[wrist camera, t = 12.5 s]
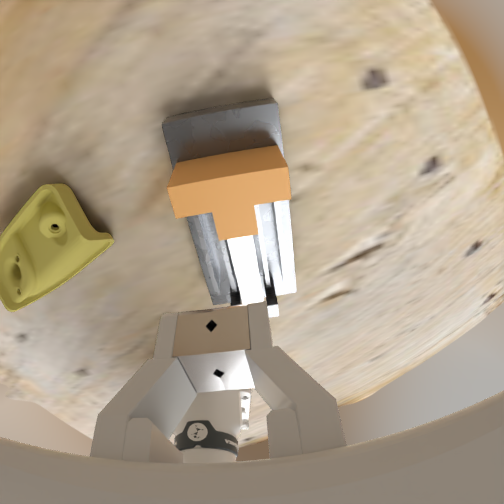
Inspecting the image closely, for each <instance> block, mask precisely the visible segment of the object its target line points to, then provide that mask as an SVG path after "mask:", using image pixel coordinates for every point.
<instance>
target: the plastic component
mask: <svg viewBox="0 0 504 504" xmlns="http://www.w3.org/2000/svg"><path fill="white" fill-rule="evenodd" d="M53 224H57V225H58V226H59V227H53V226H52V225H53ZM113 243H114V240H113V238H112V236H111V235H110V234H109V233H100V232H97V231H96V230H95V229H94V228H93V227H92V226H91V224H90V223H89V221H88V219H87V217H86V215H85V214H84V212H83V210H82V208H81V206H80V205H79V203H78V201H77V199H76V197H75V195H74V193H73V191H72V190H71V189H70V188H69V187H68V186H67V185H65V184H62V183H59V184H45V185H42V186H41V187H39V188H38V189H37V191H36V192H35V193H34V194H33V195H32V196H31V198H30V199H29V200H28V201H27V202H26V203H25V205H24V206H23V207H22V208H21V210H20V211H19V212H18V213H17V215H16V216H15V217H14V218H13V220H12V221H11V222H10V223H9V225H8V226H7V227H6V229H5V230H4V231H3V233H2V234H1V235H0V299H1V301H2V303H3V305H4V307H5V308H6V309H7V310H8V311H10V312H15V311H17V310H19V309H21V308H23V307H25V306H27V305H29V304H31V303H33V302H35V301H36V300H38V299H40V298H42V297H43V296H45V295H47V294H48V293H50V292H52V291H53V290H55V289H56V288H58V287H60V286H61V285H62V284H64V283H65V282H67V281H68V280H69V279H71V278H72V277H74V276H75V275H76V274H77V273H79V272H80V271H81V270H82V269H83V268H85V267H86V266H87V265H88V264H89V263H91V262H92V261H93V260H94V259H96V258H97V257H98V256H99V255H100V254H102V253H103V252H104V251H105V250H107V249H108V248H109V247H110V246H111V245H112V244H113ZM18 257H19V258H18ZM20 291H21V292H20Z"/></svg>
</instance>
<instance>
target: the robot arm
mask: <svg viewBox="0 0 504 504" xmlns="http://www.w3.org/2000/svg"><path fill="white" fill-rule="evenodd" d="M248 388H255V390H256V391H257V392H258V393H259V395H260V396H261V397H262V398H263V399H264V401H265V402H266V403H267V404H268V406H269V407H270V408H271V409H272V411H270V413H269V414H268V415H267V428H268V441H269V453H270V459H264V460H252V461H241V462H236V458H237V456H238V441H237V440H238V438H239V437H240V436H241V429H249V423H248V419H249V410H250V400H251V390H250V389H248ZM172 434H174V435H175V436H176V437H175V442H174V445H173V444H172V443H171V442H170V441H169V438H170V437H171V435H172ZM0 504H504V391H502V392H500V393H498V394H496V395H494V396H492V397H489V398H487V399H485V400H483V401H481V402H479V403H476V404H474V405H472V406H470V407H467V408H465V409H462V410H460V411H457V412H455V413H452V414H450V415H447V416H445V417H442V418H440V419H437V420H434V421H431V422H428V423H426V424H423V425H420V426H417V427H414V428H411V429H408V430H405V431H401V432H398V433H395V434H391V435H388V436H384V437H381V438H377V439H373V440H369V441H365V442H361V443H357V444H353V445H349V446H347V445H346V441H345V437H344V432H343V428H342V424H341V419H340V415H339V411H338V406H337V402H336V399H335V398H334V397H333V396H332V395H331V394H330V393H329V392H327V391H326V390H325V389H324V388H323V387H322V386H321V385H320V384H319V383H317V382H316V381H315V380H314V379H313V378H312V377H311V376H310V375H309V374H308V373H307V372H305V371H304V370H303V369H302V368H301V367H300V366H299V365H298V364H297V363H296V362H295V361H293V360H292V359H291V358H290V357H289V356H288V355H287V354H286V353H285V352H284V351H283V350H282V349H281V348H280V347H279V346H274V347H273V341H272V334H271V328H270V321H269V314H268V308H267V302H266V301H262V302H255V303H249V304H243V305H236V306H229V307H221V308H214V309H207V310H197V311H186V312H179V313H167V314H163V315H162V316H161V318H160V323H159V328H158V333H157V339H156V344H155V350H154V355H153V359H148V360H147V361H146V362H145V363H144V364H143V366H142V367H141V368H140V369H139V370H138V371H137V372H136V373H135V374H134V375H133V377H132V378H131V379H130V380H129V381H128V382H127V383H126V384H125V385H124V387H123V388H122V389H121V390H120V391H119V392H118V393H117V394H116V395H115V396H114V398H113V399H112V400H111V401H110V402H109V403H108V404H107V405H106V406H105V408H104V409H103V410H102V411H101V412H100V413H99V414H98V417H97V422H96V426H95V431H94V436H93V442H92V447H91V453H90V456H83V455H77V454H71V453H66V452H60V451H55V450H50V449H45V448H41V447H37V446H32V445H28V444H24V443H20V442H17V441H13V440H10V439H6V438H2V437H0Z"/></svg>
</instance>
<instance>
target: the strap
mask: <svg viewBox="0 0 504 504" xmlns="http://www.w3.org/2000/svg"><path fill="white" fill-rule="evenodd" d="M227 241H228V245H229V249H230V253H231V257H232V262H233V266H234V270H235V274H236V278H237V282H238V286H239V290H240V294H241V298H242V302H243V304H249V303H255V302H262V301H264V298H263V292H262V287H261V281H260V275H259V269H258V264H257V258H256V252H255V246H254V241H253V235H252V236H246V237H240V238H233V239H227Z"/></svg>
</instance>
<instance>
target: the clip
mask: <svg viewBox="0 0 504 504" xmlns="http://www.w3.org/2000/svg"><path fill="white" fill-rule="evenodd" d="M167 190H168V194H169V197H170V200H171V204H172V207H173V210H174V214H175V217H176V219H177V218H183V217H188V216H194V215H199V214H205V213H210V212H212V214H213V218H214V222H215V226H216V231H217V235H218V239H219V241H221V240H227V239H233V238H240V237H246V236H252V235H258V234H259V233H258V227H257V220H256V214H255V208H254V205H258V204H264V203H271V202H277V201H284V200H291V190H290V180H289V170H288V165H287V163H286V161H285V159H284V157H283V155H282V153H281V151H280V149H279V147H278V145H274V146H267V147H261V148H254V149H248V150H242V151H236V152H230V153H224V154H218V155H213V156H208V157H202V158H197V159H192V160H187V161H182V162H178V163H176V165H175V168H174V170H173V173H172V175H171V178H170V181H169V184H168V186H167Z"/></svg>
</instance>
